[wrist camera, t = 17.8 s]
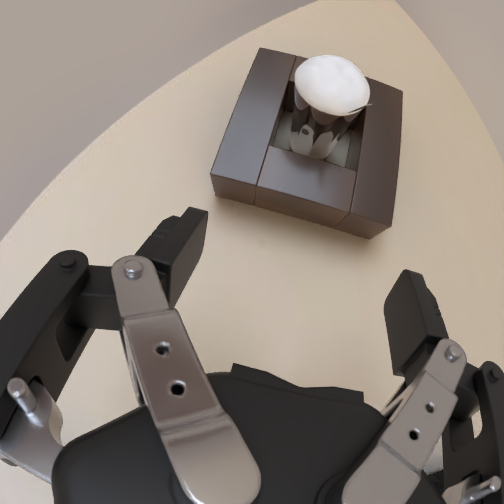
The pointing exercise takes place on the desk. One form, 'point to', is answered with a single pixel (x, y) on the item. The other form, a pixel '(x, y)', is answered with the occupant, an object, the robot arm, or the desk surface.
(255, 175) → the socket block
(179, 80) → the desk surface
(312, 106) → the milkshake
